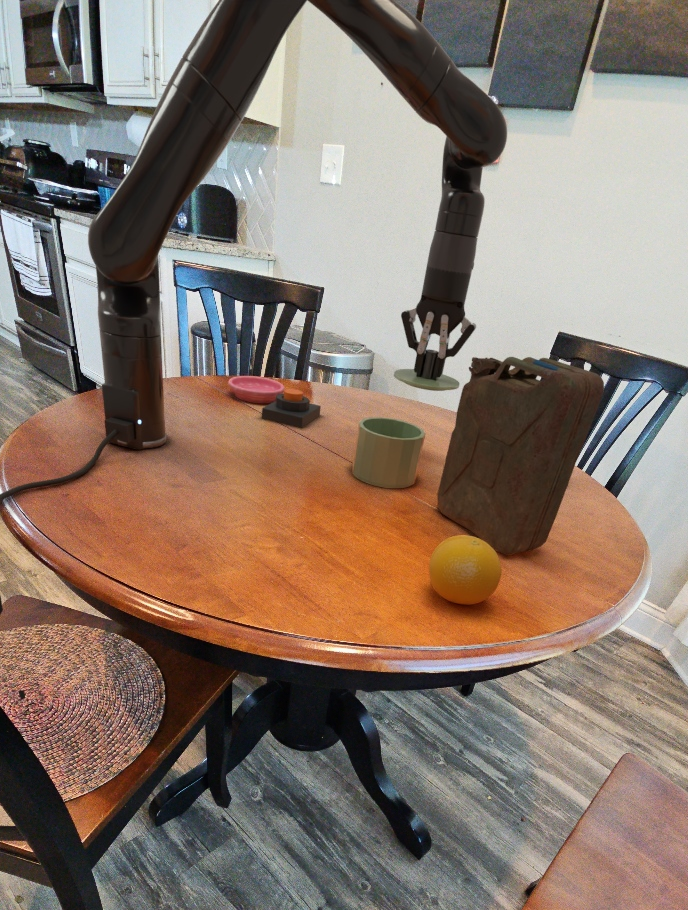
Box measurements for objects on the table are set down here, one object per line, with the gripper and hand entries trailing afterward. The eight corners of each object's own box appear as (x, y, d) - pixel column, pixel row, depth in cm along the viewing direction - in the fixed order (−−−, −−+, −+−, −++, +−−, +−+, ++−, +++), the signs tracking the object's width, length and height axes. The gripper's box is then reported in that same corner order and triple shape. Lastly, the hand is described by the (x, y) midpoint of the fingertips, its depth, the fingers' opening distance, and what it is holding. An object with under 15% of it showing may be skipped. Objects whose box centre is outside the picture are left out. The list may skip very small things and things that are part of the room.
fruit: (477, 581, 78) (494, 527, 74) (500, 616, 72) (520, 559, 67) (415, 579, 77) (428, 523, 72) (432, 614, 70) (448, 556, 66)
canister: (547, 553, 88) (615, 378, 74) (508, 562, 84) (571, 378, 69) (465, 502, 100) (510, 342, 86) (428, 507, 96) (467, 340, 82)
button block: (301, 428, 120) (303, 408, 118) (261, 418, 122) (262, 398, 120) (319, 416, 129) (321, 397, 127) (282, 407, 131) (283, 388, 128)
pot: (406, 493, 100) (417, 444, 95) (343, 477, 102) (350, 428, 97) (420, 473, 109) (430, 427, 104) (362, 458, 111) (369, 412, 106)
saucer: (286, 408, 130) (287, 393, 129) (229, 403, 128) (229, 388, 126) (280, 392, 140) (281, 378, 138) (227, 387, 137) (227, 373, 135)
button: (298, 404, 121) (298, 395, 120) (280, 399, 122) (280, 391, 121) (305, 400, 125) (305, 391, 124) (287, 396, 125) (288, 387, 124)
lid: (452, 398, 102) (460, 363, 99) (385, 383, 104) (391, 349, 101) (462, 384, 112) (470, 352, 108) (401, 371, 114) (407, 339, 110)
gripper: (404, 260, 95) (385, 373, 106) (488, 275, 93) (461, 389, 103) (413, 259, 101) (395, 366, 111) (493, 273, 99) (467, 381, 109)
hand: (427, 377), depth 107 cm, fingers closed on lid, 2 cm apart
